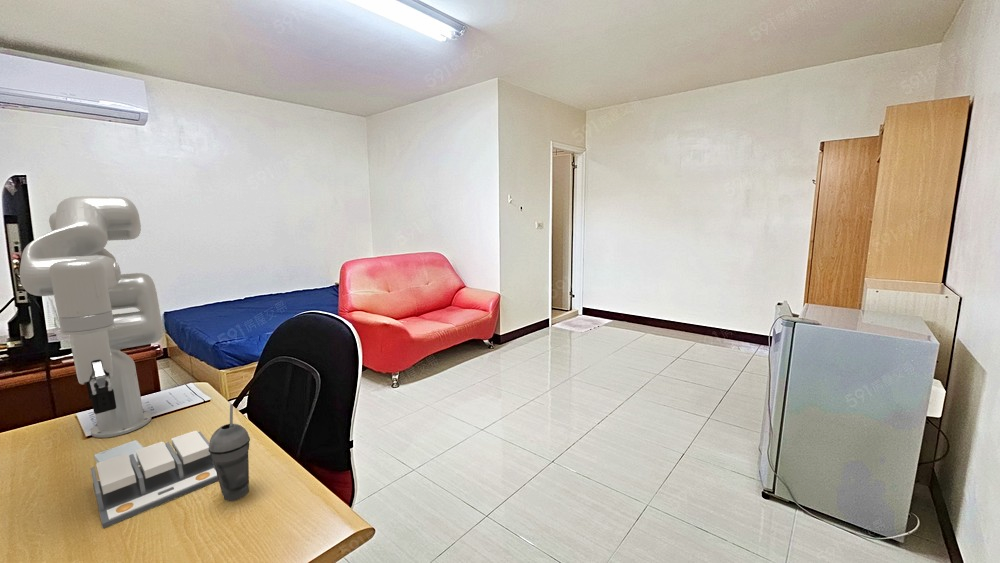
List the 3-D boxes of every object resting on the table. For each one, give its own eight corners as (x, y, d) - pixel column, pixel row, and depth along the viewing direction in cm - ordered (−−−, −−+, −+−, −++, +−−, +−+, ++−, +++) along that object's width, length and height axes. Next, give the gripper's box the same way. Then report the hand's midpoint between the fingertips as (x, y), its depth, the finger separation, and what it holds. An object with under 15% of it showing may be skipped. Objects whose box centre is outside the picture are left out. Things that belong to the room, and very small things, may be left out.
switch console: (93, 487, 91) (89, 467, 90) (202, 448, 105) (200, 430, 105) (103, 528, 79) (98, 506, 78) (224, 477, 93) (222, 458, 93)
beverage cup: (219, 488, 90) (207, 401, 87) (258, 479, 93) (248, 395, 89) (212, 510, 83) (198, 417, 80) (253, 499, 86) (242, 409, 83)
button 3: (172, 448, 100) (171, 438, 99) (197, 439, 103) (196, 430, 103) (184, 467, 92) (182, 457, 92) (210, 457, 96) (209, 447, 95)
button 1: (97, 474, 90) (95, 463, 90) (128, 463, 94) (126, 453, 93) (104, 498, 83) (101, 486, 82) (137, 485, 86) (134, 474, 86)
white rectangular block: (137, 460, 95) (135, 450, 94) (164, 451, 98) (163, 441, 98) (146, 482, 87) (144, 470, 87) (175, 471, 91) (174, 460, 90)
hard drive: (93, 454, 101) (108, 472, 94) (136, 439, 108) (153, 455, 101) (94, 460, 101) (109, 479, 94) (137, 445, 108) (154, 461, 101)
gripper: (58, 319, 85) (73, 397, 88) (62, 334, 74) (80, 424, 77) (108, 312, 91) (121, 386, 94) (119, 325, 79) (133, 410, 82)
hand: (102, 403), depth 85 cm, fingers open, 9 cm apart
